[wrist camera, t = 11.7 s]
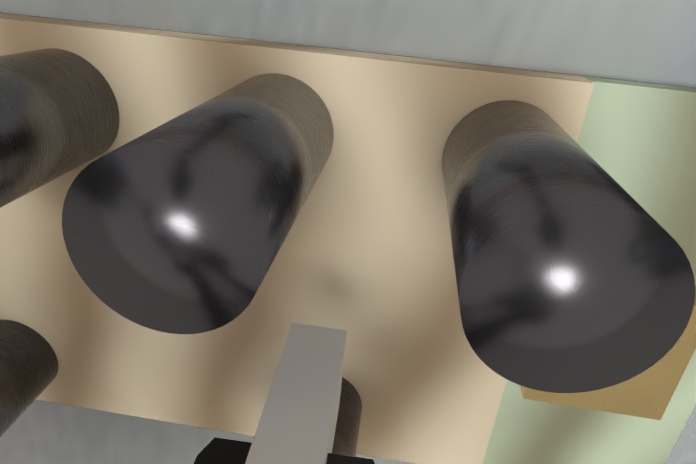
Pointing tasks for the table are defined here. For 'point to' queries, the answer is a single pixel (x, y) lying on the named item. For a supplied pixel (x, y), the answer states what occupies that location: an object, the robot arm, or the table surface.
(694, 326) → the tan wooden tile
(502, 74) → the board
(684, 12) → the table surface
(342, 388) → the spacers
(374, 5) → the table surface
